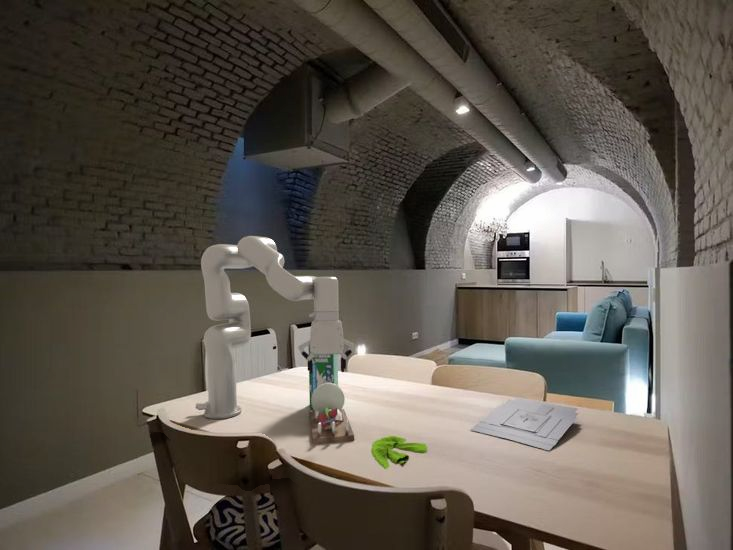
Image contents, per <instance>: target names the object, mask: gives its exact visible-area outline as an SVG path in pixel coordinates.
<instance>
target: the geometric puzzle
mask: <svg viewBox="0 0 733 550" xmlns="http://www.w3.org/2000/svg"><path fill="white" fill-rule="evenodd" d="M333 408H334V407H333ZM330 410H331V408H330ZM325 412H326V413H324V414H322V415H318V418H319V421H320V423H321V426H322V429H323V428H325V427H326V428H328V426H330V425H331V427H332V422H333V421H334V422H335V423H338V422H339V423H340V421H343V420H342V413H341V412H340V411H339V410H338V408H336V409H334V410H332V411H329V410H328V408H327V407H326V409H325ZM322 413H323V412H322ZM327 430H328V429H327Z"/></svg>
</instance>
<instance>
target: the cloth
mask: <svg viewBox="0 0 733 550" xmlns="http://www.w3.org/2000/svg"><path fill="white" fill-rule="evenodd" d="M406 441H407V439H406V438H404V437H401V436H397V435H396V436H395V435H388V436H385V437H381V438H380V439H377V440H375V441H373V442H372V445H371V455H372V456H373V458H374V459H375V460H376V462H377V463H378V464H379V465H380V466H381V467H382V468H383V469H388V468H389V467H390V464H389V461H390V462H391V463H393V464H395V465H396V464H397V463H398V464H399V465H401V466H402V467H404V466H405V465H404V463H407V462H408V461H409V460H410V456H409V455H408V454H406V453H405V452H406V451H407V452H412V453H416V454H417V453H419V454H427V453H428V450H427V443H419V442H406ZM393 449H397V450H400V451H401V450H402V451H405V452H404V453H403V452H398V451H397V450H393ZM388 460H389V461H388Z"/></svg>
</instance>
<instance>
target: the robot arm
mask: <svg viewBox="0 0 733 550" xmlns="http://www.w3.org/2000/svg"><path fill="white" fill-rule="evenodd" d="M277 247H278V246H277V245H276V242H274V240H273V239H271V238H269V237H267V236H258V235H247V236H244V237H243V238H241V239H240V240H239V241H238V243H237V244H226V243H218V244H214V245H211V246H208V247H207V248H206V249H205V251H204V252H203V254H202V256H201V260H200V266H201V268H200V269H201V272H202V273H201V274H202V277H203V281H204V294H205V295H204V296H205V307H206V314H207V315H206V316H208V318H209V320H211V321H216V322H218V321H220V322H221V321H226V320H227V321H228V322H229V323H227V322H226V323H221V324H216V325H213V326H210V327H209V328H208V329H207V330H206V331H205V332H204V335H203V343H204V349H205V352H206V353H205V354H206V360H207V364H206V365H207V387H208V388H207V390H208V391H207V394H208V395H207V396H208V397H207V398H208V399H207V400H208V401H205V402H203V403H202V402H198V403H196V404H195V410H198V411H203V410H204V412H203V417H205V418H207V419H211V420H221V419H223V420H224V419H228V418H232V417H236V416H238V415H239V414H241V413H242V407H241V406H239V405H238V400H237V398H238V396H237V365H236V358H235V356H234V355H233V353H232V350H236V349H240V348H242V347H245V346H246V345H248V344H249V342H250V340H251V336H252V328H251V327H252V326H251V313H250V303H249V301H248V300H247V297H246V296H245V295H244V294H242V293H240V292H231V282H230V279H229V276H228V274H227V273H226V272H225V270H226V269H238V270H239V269H247V268H252V267H254V268H256V269H257V270H258V271H260V272H261V273H262V274H263V275H265V278H266V281H267V283H268V285H269V287H270V288H272V290H273V291H275V292H276V293H277V294H279V295H280V296H282V297H283V298H285V300H286V299H287V300H289V301H291V302H292V301H293V302H298V301H306V300H307V301H308V300H313V312H311V313H309V315H308V316H309V319H313V321H311V326H310V335H309V336H310V337H309V339H308V340H306V341H304V342H303V343H301V344H299V345H298V347H297V348H298V350H299V352H300V353H301V355H302V357H304V359H305V360H306V361H307V371H308V372H309V371H310V374H312V373H313V361H312V358H313V356H314V355H330V354H337V355H340V356H341V357H340V371H341V373H345V370H346V369H347V358H349V356H350V355H351V354H352V351H353V350H354V348H355V346H356V345H355V343H353V342H350V341H349V340H347V339H345V338H344V329H343V323H342V321H341V320H339V319H340V317H339V316H340V315H339V313H340V312H339V280H338V278H337V277H336V276H314V275H296V276H295V275H293V274H291V273H290V272H289V271H288V270H286V269H285V268H283V267H284V265H285V258H284V255H283V254H281V253H280V252H278V248H277ZM309 345H310V351H311V352H310V353H309V352H308V353H307V352H306V351H305V348H307V347H309ZM345 345H346V346H348V348H347V350H346V351H345V352H344V346H345Z"/></svg>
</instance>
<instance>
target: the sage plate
mask: <svg viewBox="0 0 733 550" xmlns="http://www.w3.org/2000/svg"><path fill="white" fill-rule="evenodd" d="M311 403H312V407H313V409H314V410H313V411H316V410H319V415H322V414H324V413H326V412H325V409H326V407H327V408H328V409H330V408H331V411H332V410H334V409H336V408H338V410H339V411H341V408H343V407H344V405H345V394H344V392H343V389H342V388H341V387H340V386H339V385H338V386H337V385H335V384H333V383H324V384H321V385H320V386H318V387H317V388H316V389H315V390H314V392H313V394H312V397H311ZM333 407H334V408H333ZM343 409H344V408H343ZM322 412H323V413H322Z"/></svg>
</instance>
